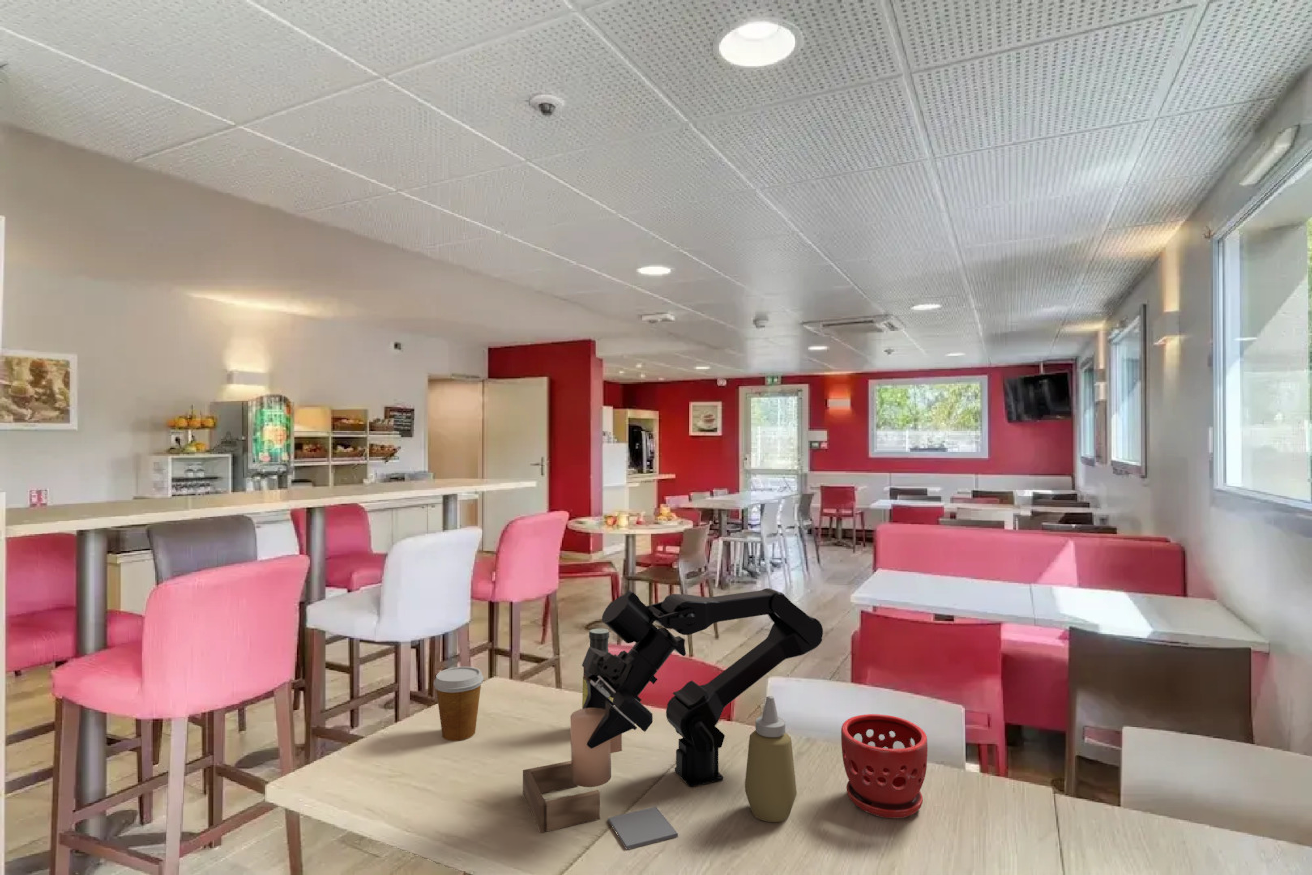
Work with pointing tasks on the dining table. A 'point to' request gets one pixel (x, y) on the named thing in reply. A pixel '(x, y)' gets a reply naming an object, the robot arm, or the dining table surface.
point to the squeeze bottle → (770, 767)
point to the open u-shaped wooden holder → (560, 809)
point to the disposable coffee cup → (458, 701)
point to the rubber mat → (642, 827)
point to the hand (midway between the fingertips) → (582, 737)
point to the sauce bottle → (601, 643)
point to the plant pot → (884, 765)
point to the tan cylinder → (585, 761)
